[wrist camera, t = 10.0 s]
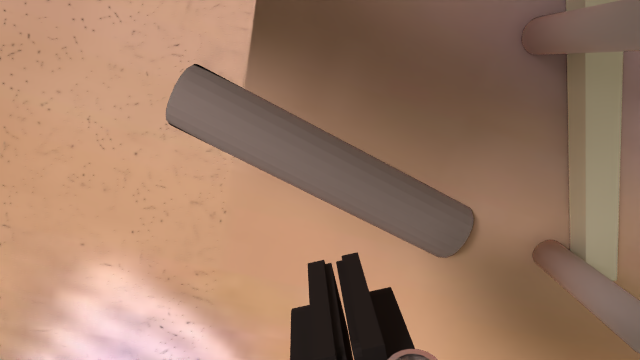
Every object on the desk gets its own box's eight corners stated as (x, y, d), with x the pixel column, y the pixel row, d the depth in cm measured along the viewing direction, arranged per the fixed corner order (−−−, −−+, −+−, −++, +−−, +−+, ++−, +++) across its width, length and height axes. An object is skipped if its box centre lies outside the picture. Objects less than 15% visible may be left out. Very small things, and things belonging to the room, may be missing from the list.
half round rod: (436, 256, 25) (445, 270, 24) (167, 123, 22) (155, 128, 21) (472, 205, 24) (485, 216, 23) (194, 58, 21) (184, 57, 19)
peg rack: (519, 1, 20) (647, -36, 13) (602, -18, 20) (783, -68, 12) (534, 281, 26) (629, 374, 18) (599, 268, 25) (724, 356, 18)
